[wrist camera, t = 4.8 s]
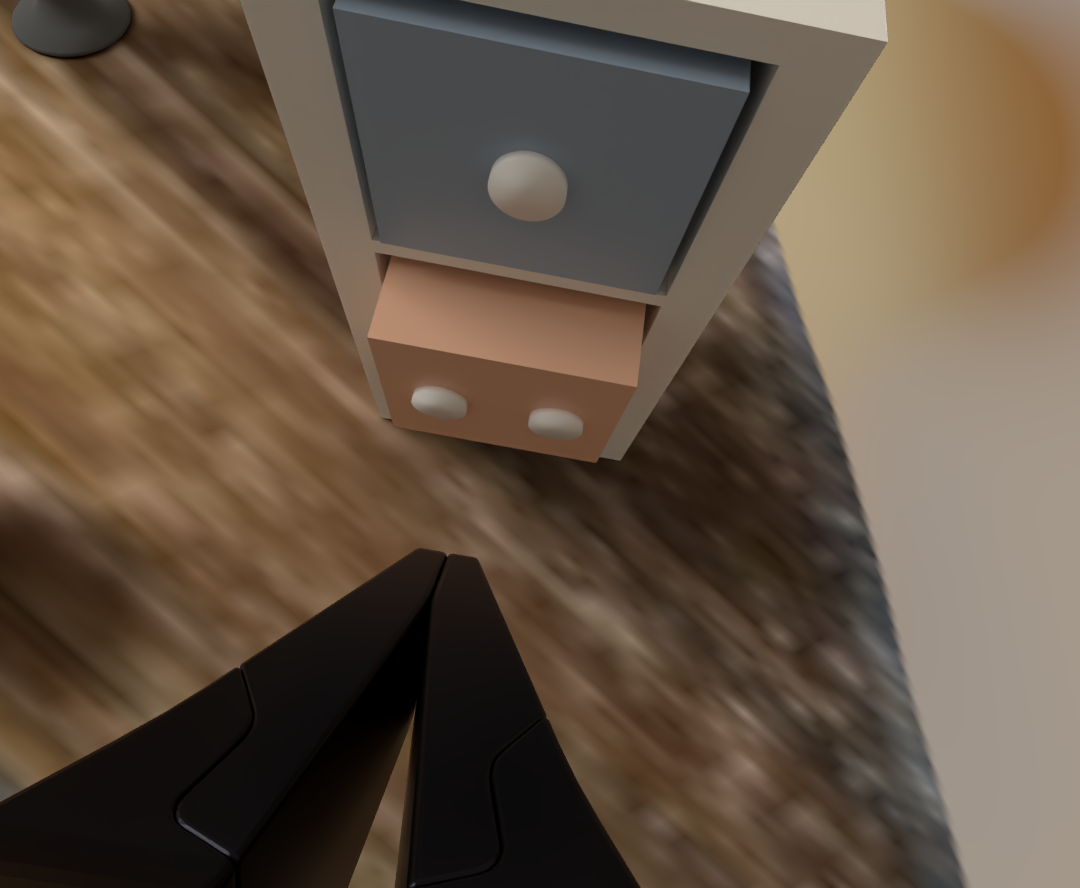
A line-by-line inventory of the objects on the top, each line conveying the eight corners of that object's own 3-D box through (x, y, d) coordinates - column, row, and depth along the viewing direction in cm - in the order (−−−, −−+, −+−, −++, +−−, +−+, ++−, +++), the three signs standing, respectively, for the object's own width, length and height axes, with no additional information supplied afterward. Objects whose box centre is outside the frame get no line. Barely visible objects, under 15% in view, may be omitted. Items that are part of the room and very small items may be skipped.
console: (620, 460, 24) (887, 41, 8) (380, 417, 23) (206, -99, 8) (636, 314, 26) (867, -217, 11) (419, 273, 26) (343, -333, 10)
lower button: (595, 471, 19) (635, 397, 14) (391, 434, 18) (363, 347, 14) (606, 387, 20) (647, 293, 15) (413, 352, 19) (394, 245, 15)
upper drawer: (654, 304, 14) (748, 105, 9) (377, 252, 13) (327, 19, 9) (665, 205, 15) (754, -20, 10) (407, 155, 14) (376, -98, 10)
